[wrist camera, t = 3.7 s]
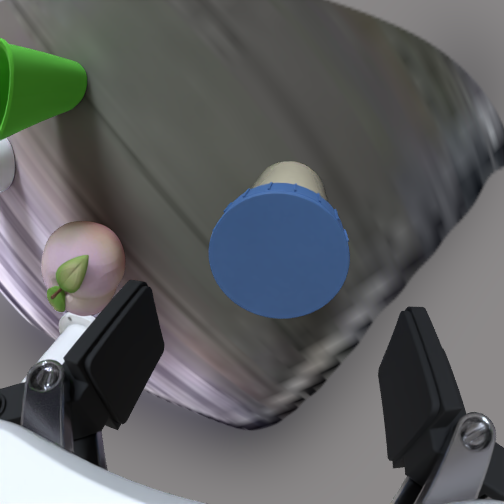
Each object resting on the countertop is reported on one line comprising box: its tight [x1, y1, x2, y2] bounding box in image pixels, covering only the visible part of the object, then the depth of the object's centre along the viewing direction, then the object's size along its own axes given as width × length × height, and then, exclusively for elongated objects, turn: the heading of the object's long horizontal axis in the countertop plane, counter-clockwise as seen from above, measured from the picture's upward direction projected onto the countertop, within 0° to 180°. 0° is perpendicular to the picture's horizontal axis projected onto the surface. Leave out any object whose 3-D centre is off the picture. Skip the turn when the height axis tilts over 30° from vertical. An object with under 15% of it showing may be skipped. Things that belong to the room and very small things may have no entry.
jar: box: [251, 161, 328, 202], centre depth 19 cm, size 6×6×11 cm
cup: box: [0, 38, 87, 141], centre depth 17 cm, size 9×9×11 cm
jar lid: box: [209, 182, 350, 319], centre depth 15 cm, size 7×7×2 cm
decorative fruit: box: [41, 221, 125, 316], centre depth 24 cm, size 9×8×10 cm
